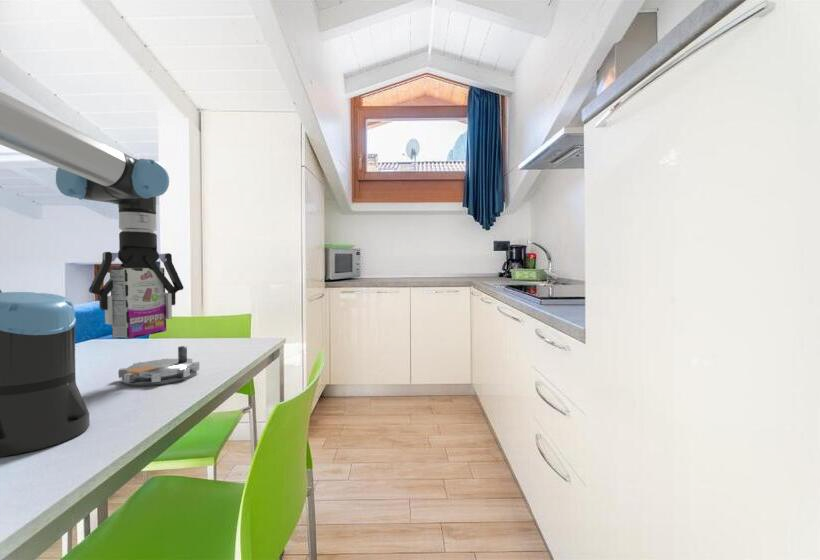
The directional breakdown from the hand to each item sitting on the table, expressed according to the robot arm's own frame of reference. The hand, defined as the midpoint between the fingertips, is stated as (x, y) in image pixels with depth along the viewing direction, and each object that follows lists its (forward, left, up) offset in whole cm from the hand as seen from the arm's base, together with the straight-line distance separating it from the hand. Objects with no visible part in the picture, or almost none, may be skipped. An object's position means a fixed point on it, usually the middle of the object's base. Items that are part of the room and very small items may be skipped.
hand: (139, 321), depth 97 cm
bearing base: (+4, 0, -15) cm, 15 cm away
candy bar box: (0, 0, -4) cm, 4 cm away
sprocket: (+4, 0, -15) cm, 15 cm away
